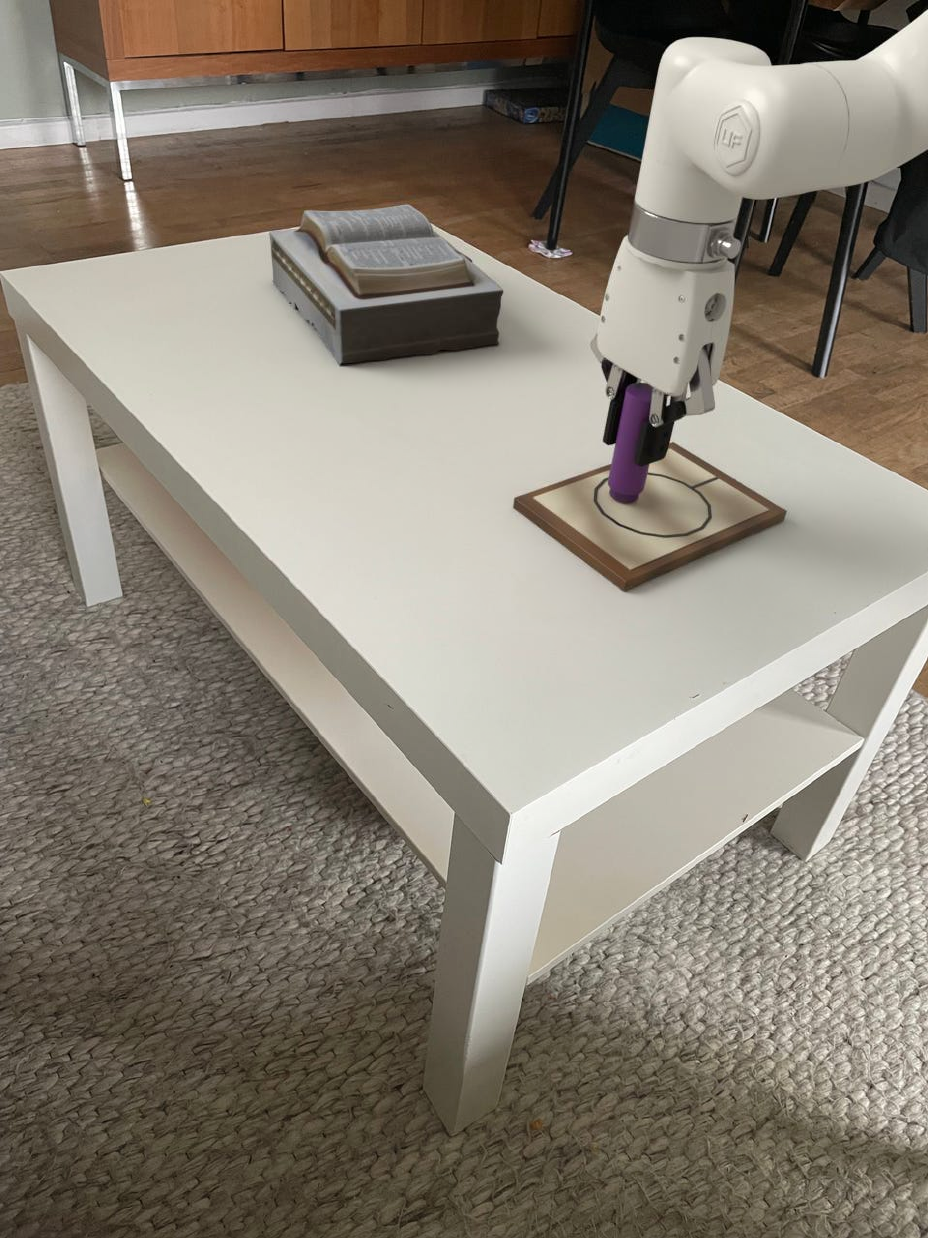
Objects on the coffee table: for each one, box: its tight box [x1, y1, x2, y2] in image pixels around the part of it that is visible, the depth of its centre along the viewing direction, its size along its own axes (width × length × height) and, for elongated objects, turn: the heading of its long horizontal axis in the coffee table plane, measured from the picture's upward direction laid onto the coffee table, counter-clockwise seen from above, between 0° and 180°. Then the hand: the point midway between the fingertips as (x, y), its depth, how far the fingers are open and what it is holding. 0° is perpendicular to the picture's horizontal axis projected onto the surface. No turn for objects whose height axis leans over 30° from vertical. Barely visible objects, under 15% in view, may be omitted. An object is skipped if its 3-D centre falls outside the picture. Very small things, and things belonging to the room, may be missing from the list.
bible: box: [268, 204, 504, 367], centre depth 115 cm, size 23×27×10 cm
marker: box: [608, 382, 653, 503], centre depth 85 cm, size 3×3×10 cm
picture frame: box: [512, 441, 788, 592], centre depth 88 cm, size 20×14×1 cm
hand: (633, 448), depth 86 cm, fingers closed on marker, 3 cm apart
